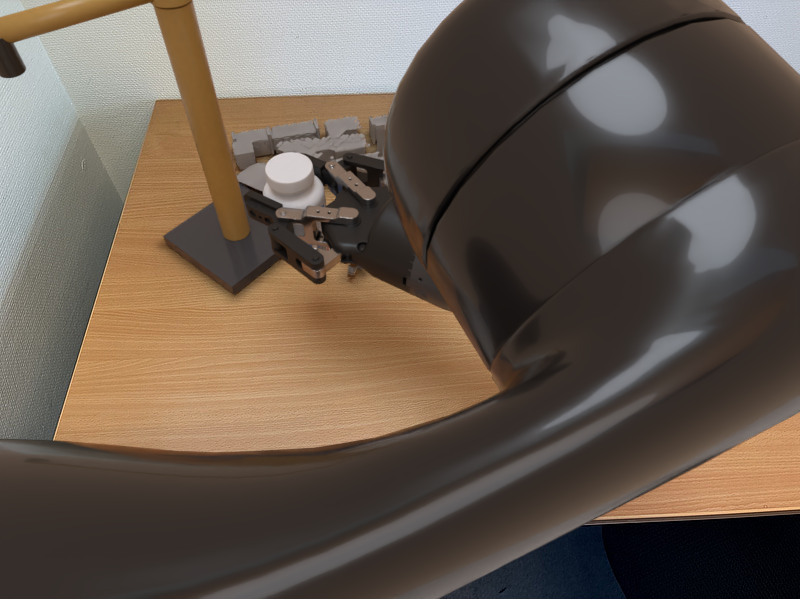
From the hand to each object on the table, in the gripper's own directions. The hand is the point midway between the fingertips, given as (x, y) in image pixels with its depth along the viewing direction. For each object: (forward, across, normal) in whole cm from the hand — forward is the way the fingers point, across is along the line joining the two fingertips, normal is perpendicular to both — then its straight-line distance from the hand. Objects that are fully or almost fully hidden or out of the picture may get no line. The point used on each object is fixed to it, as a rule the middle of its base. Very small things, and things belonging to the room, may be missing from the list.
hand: (270, 181), depth 54 cm
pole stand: (+11, -4, +17) cm, 21 cm away
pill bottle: (-3, 0, +7) cm, 8 cm away
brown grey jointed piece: (-4, -10, +18) cm, 20 cm away
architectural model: (+11, -21, +17) cm, 30 cm away
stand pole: (+11, -4, +16) cm, 20 cm away
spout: (+13, +2, -10) cm, 17 cm away
